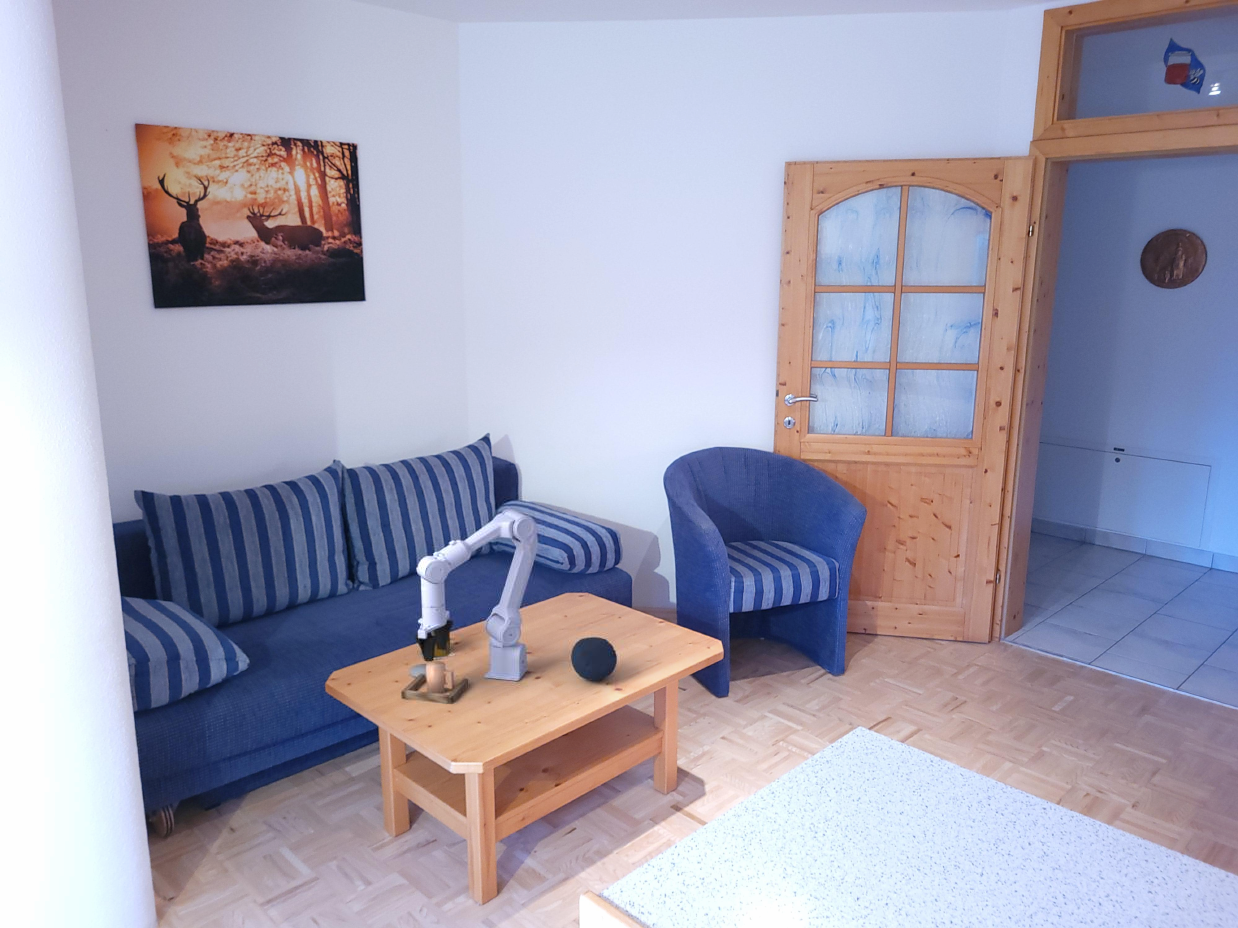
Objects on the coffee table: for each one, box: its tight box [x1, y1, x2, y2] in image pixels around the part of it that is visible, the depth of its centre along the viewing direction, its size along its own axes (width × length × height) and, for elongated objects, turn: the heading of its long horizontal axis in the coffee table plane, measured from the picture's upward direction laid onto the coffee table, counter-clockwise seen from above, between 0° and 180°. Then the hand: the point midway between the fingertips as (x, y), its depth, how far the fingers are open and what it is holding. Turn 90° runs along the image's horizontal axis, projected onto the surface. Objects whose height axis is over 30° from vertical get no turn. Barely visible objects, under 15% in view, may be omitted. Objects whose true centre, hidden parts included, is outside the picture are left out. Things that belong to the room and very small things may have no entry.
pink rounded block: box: [426, 660, 455, 694], centre depth 238 cm, size 7×5×7 cm
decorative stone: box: [570, 636, 618, 682], centre depth 246 cm, size 12×12×10 cm
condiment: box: [417, 619, 456, 661], centre depth 261 cm, size 7×8×12 cm
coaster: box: [408, 663, 428, 679], centre depth 250 cm, size 8×8×1 cm
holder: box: [400, 674, 470, 705], centre depth 238 cm, size 13×11×2 cm
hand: (435, 654), depth 237 cm, fingers open, 7 cm apart
